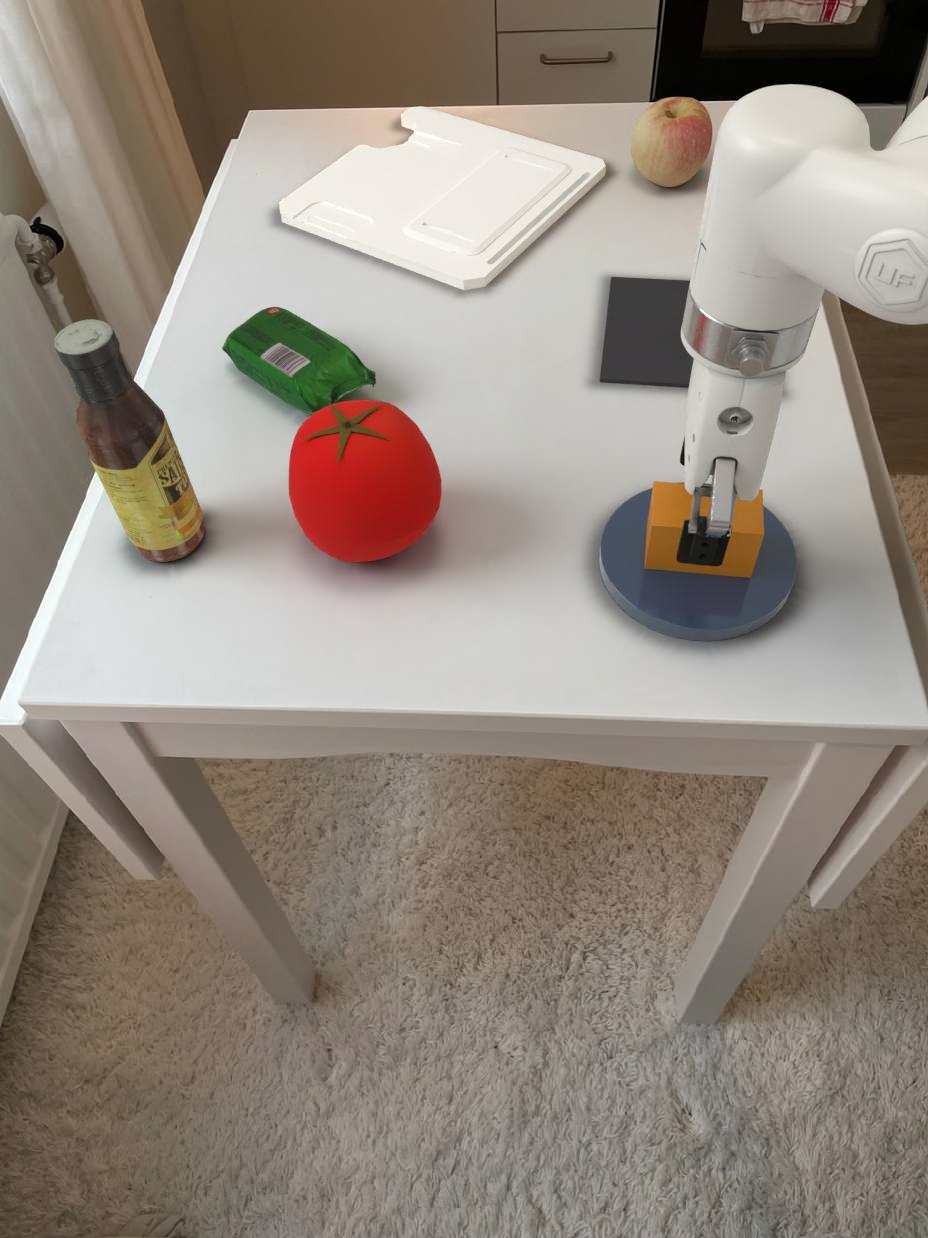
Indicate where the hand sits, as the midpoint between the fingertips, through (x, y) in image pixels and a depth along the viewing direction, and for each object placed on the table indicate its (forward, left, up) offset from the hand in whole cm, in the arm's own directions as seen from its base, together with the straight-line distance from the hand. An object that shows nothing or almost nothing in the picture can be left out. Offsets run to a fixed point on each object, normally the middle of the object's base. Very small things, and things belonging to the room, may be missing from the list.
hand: (699, 511), depth 71 cm
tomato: (+25, 0, -6) cm, 26 cm away
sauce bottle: (+42, +2, -6) cm, 43 cm away
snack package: (+36, -18, -6) cm, 41 cm away
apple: (+3, -57, -6) cm, 57 cm away
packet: (-1, 0, -4) cm, 4 cm away
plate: (-1, 0, -6) cm, 6 cm away
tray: (+28, -52, -6) cm, 59 cm away
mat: (0, -29, -6) cm, 29 cm away
